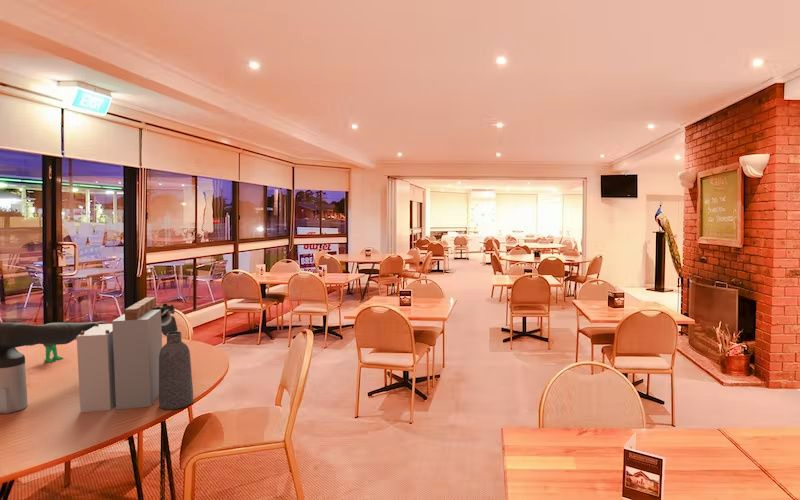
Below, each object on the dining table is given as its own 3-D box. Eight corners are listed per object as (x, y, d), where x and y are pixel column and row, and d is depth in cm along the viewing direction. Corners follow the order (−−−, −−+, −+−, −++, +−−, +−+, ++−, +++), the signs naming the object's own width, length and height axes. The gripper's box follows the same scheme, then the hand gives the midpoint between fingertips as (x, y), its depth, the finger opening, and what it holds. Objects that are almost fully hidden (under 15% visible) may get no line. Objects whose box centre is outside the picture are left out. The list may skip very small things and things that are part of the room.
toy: (34, 368, 228) (32, 338, 227) (23, 367, 229) (21, 337, 228) (80, 353, 253) (79, 325, 252) (70, 352, 254) (68, 325, 253)
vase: (177, 396, 192) (174, 328, 190) (200, 400, 187) (198, 330, 186) (151, 407, 181) (148, 335, 179) (175, 412, 176) (173, 338, 174)
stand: (150, 406, 182) (147, 319, 179) (80, 412, 176) (75, 322, 174) (163, 388, 201) (160, 309, 199) (100, 393, 196) (97, 312, 193)
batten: (136, 319, 179) (136, 309, 179) (125, 320, 179) (124, 309, 178) (156, 306, 207) (155, 297, 206) (146, 306, 206) (145, 297, 205)
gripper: (146, 309, 227) (136, 298, 213) (178, 307, 231) (171, 296, 216) (144, 324, 224) (135, 314, 210) (177, 322, 228) (170, 312, 213)
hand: (153, 305), depth 213 cm, fingers open, 8 cm apart
